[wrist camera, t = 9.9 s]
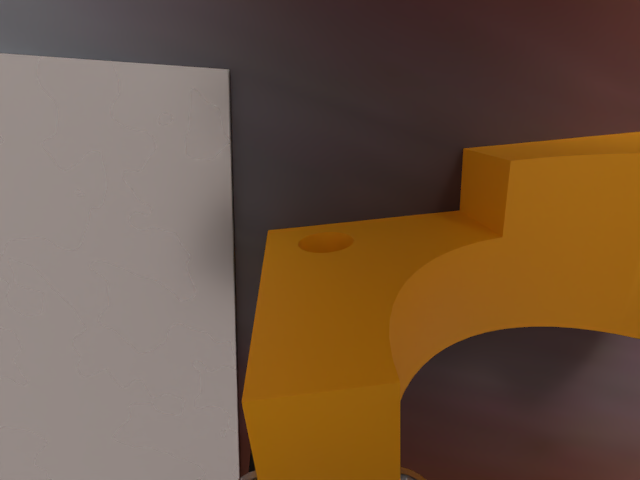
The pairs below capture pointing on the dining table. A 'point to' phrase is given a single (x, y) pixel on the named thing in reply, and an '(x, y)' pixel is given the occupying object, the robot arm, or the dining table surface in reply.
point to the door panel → (116, 272)
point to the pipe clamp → (433, 296)
